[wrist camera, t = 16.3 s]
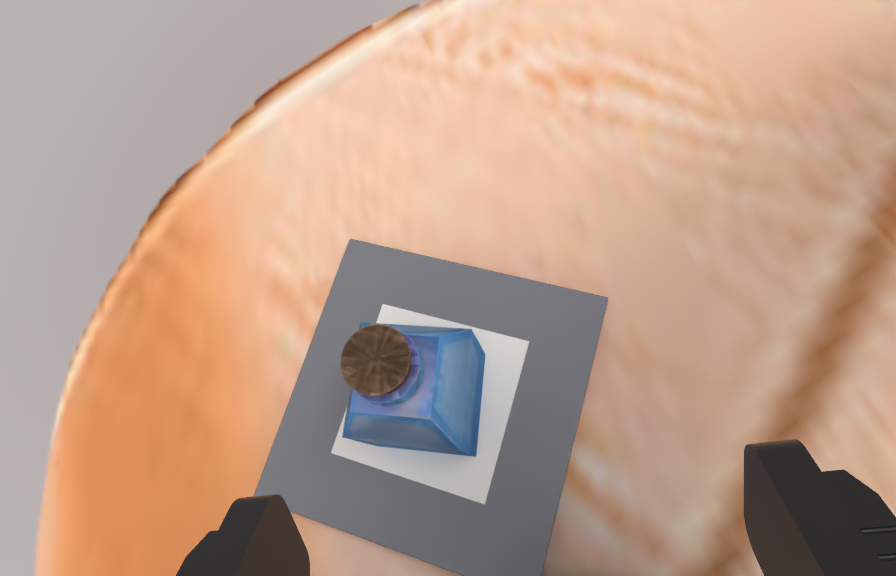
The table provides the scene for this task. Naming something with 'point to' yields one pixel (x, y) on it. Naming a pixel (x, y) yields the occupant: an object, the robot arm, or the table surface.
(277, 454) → the mat
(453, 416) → the perfume bottle
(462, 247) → the table surface
